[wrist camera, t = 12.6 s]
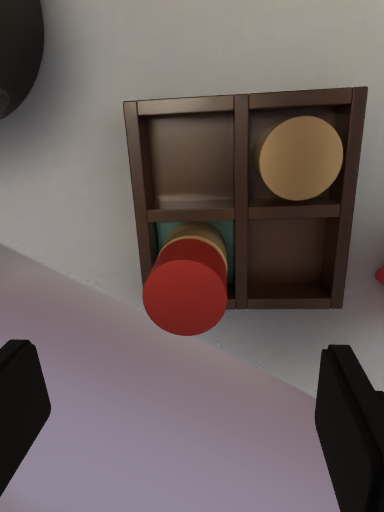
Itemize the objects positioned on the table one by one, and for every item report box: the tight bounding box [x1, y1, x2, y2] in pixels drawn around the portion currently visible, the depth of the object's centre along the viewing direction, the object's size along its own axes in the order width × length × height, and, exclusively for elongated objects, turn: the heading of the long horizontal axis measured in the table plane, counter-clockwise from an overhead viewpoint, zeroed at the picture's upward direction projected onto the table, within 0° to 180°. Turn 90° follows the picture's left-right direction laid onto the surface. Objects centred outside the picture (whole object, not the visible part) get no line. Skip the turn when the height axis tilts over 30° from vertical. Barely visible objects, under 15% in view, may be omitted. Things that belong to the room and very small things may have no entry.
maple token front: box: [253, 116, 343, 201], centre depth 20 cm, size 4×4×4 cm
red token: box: [142, 239, 227, 336], centre depth 19 cm, size 4×4×4 cm
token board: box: [123, 86, 368, 309], centre depth 22 cm, size 13×13×3 cm
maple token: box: [158, 221, 227, 277], centre depth 22 cm, size 4×4×4 cm
